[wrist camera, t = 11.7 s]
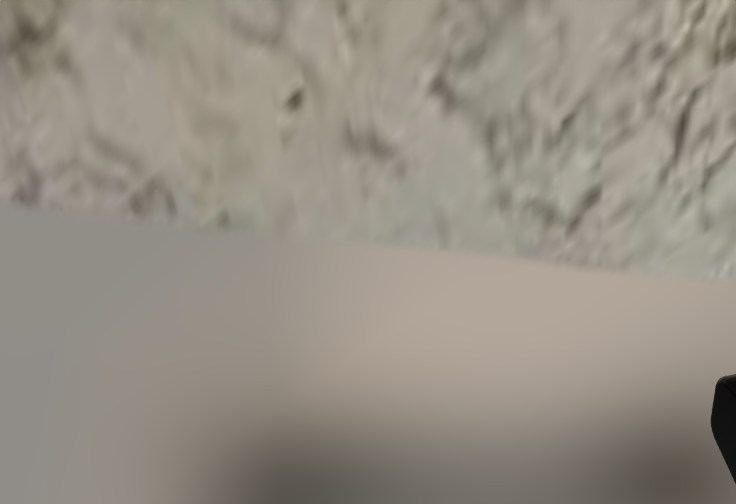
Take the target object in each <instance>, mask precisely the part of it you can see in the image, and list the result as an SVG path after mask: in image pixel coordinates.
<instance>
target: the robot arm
mask: <svg viewBox="0 0 736 504" xmlns="http://www.w3.org/2000/svg"><path fill="white" fill-rule="evenodd" d="M711 428H712V432H713V435H714V438H715V440H716V443H717V445H718V447H719V449H720V451H721V453H722V456H723V458H724V460H725V462H726V464H727V466H728V468H729V471H730V473H731V475H732V477H733V479H734V481H735V484H736V374H734V375H729V376H724V377H722V378H720V379H719V380H718V382H717V384H716V388H715V394H714V401H713V407H712V414H711Z"/></svg>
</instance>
